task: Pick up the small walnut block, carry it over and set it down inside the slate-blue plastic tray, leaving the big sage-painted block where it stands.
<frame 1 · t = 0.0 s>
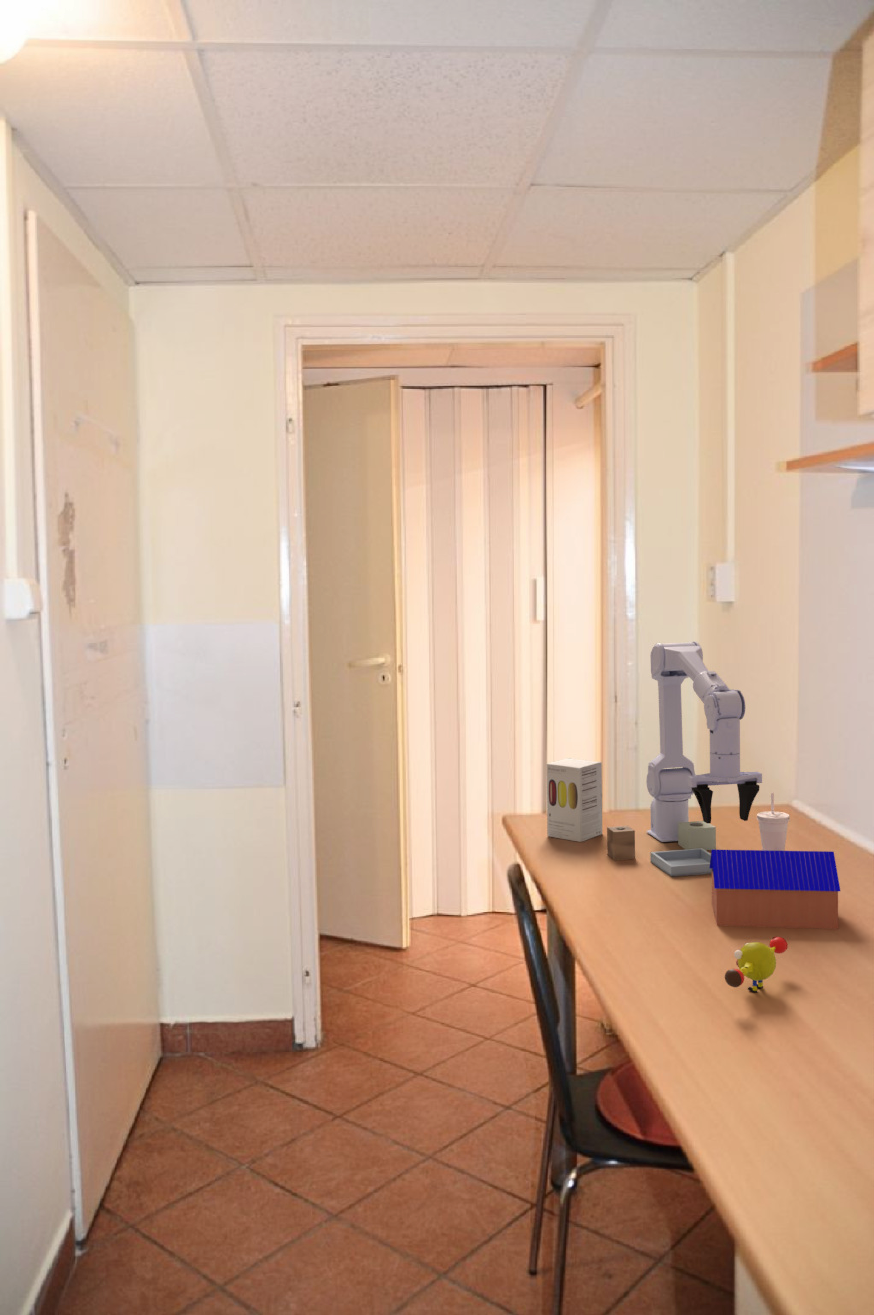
hand: (725, 821, 209), 10 cm above the table, fingers open, 7 cm apart
oversize block: (696, 847, 228), on the table
supplement box: (575, 836, 242), on the table
smoothie: (773, 862, 215), on the table
house: (772, 918, 182), on the table
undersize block: (621, 857, 223), on the table
tray: (687, 867, 213), on the table
toy figure: (755, 990, 151), on the table
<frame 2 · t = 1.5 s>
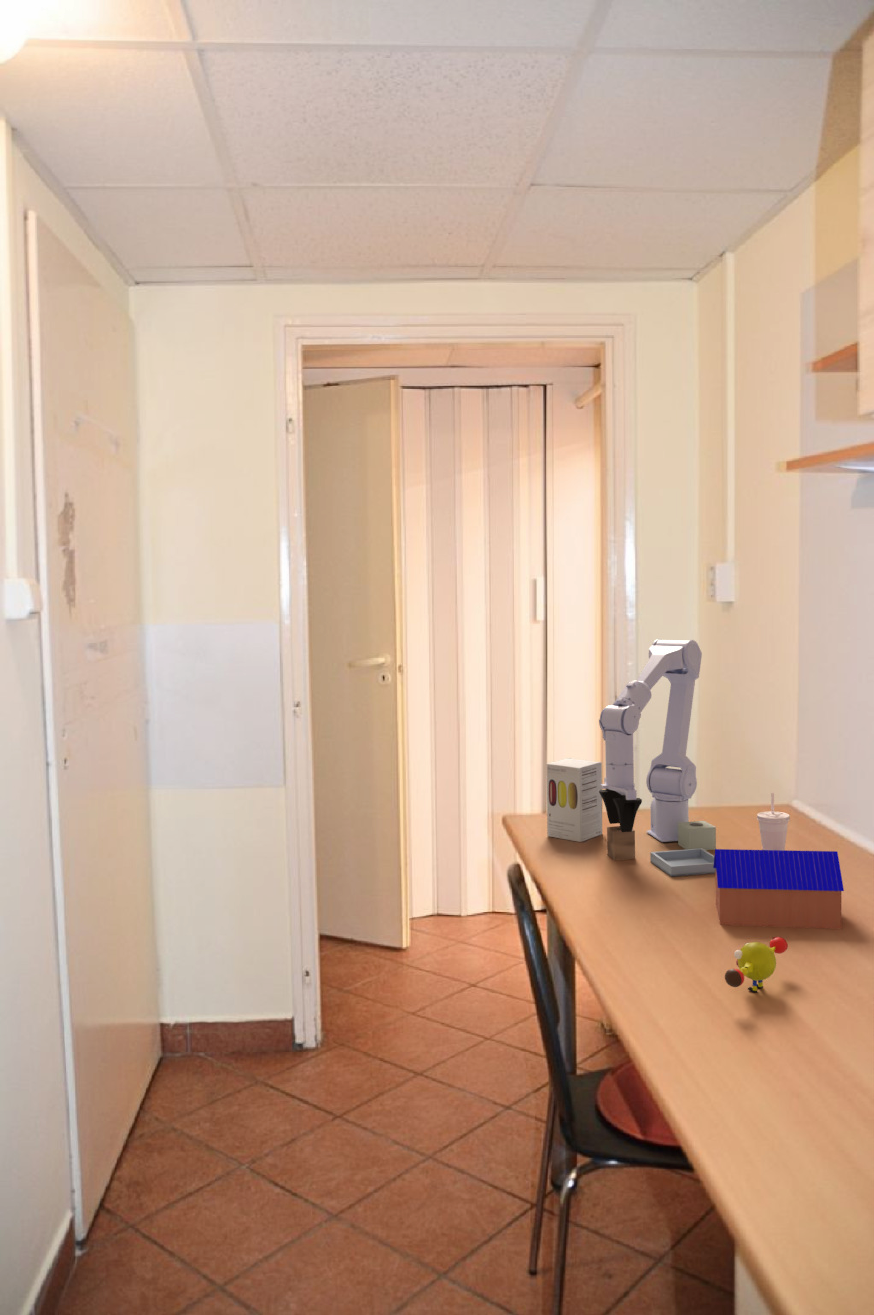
hand: (620, 827, 222), 6 cm above the table, fingers open, 7 cm apart
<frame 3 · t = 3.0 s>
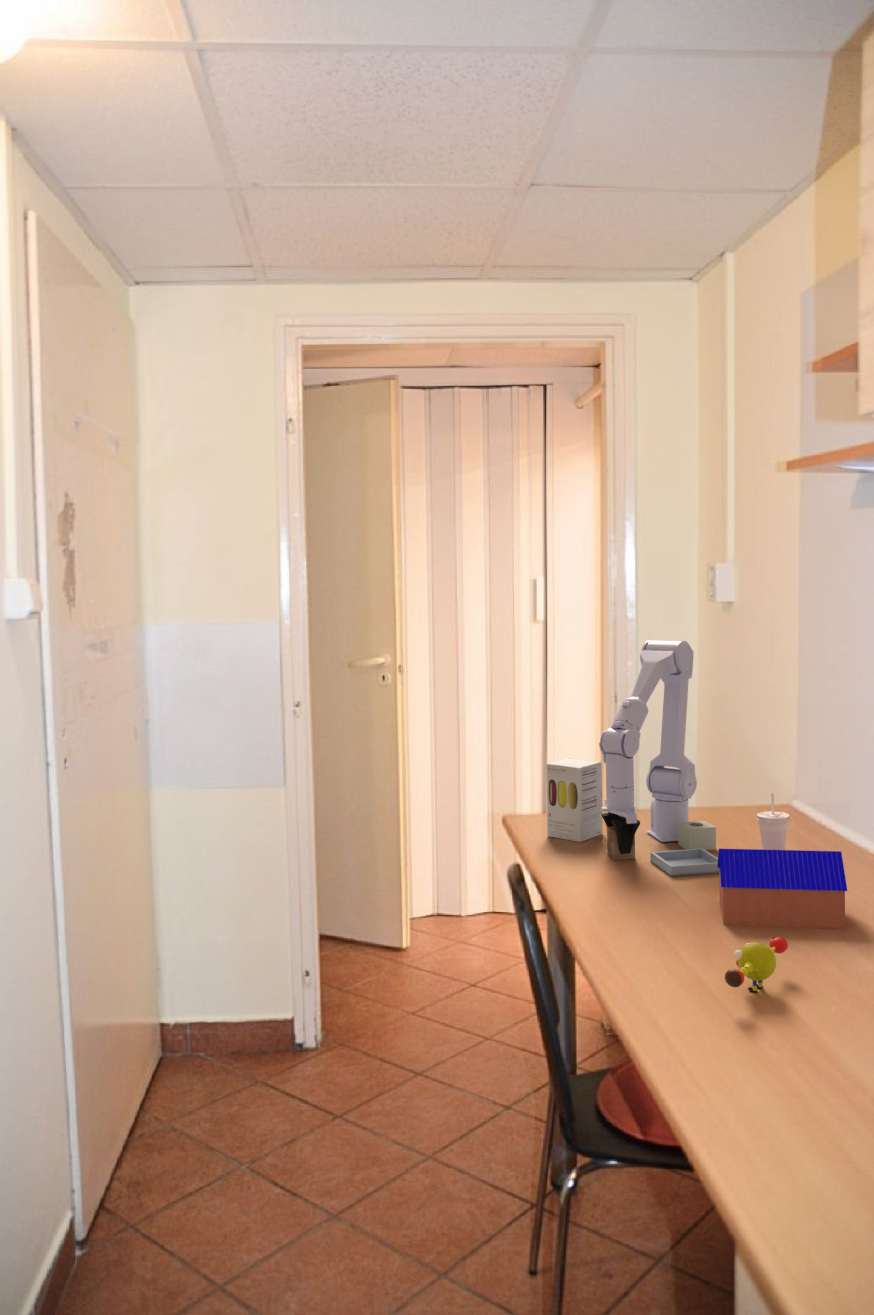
hand: (621, 850, 223), 1 cm above the table, fingers closed on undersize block, 4 cm apart
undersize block: (621, 856, 223), on the table, touching gripper
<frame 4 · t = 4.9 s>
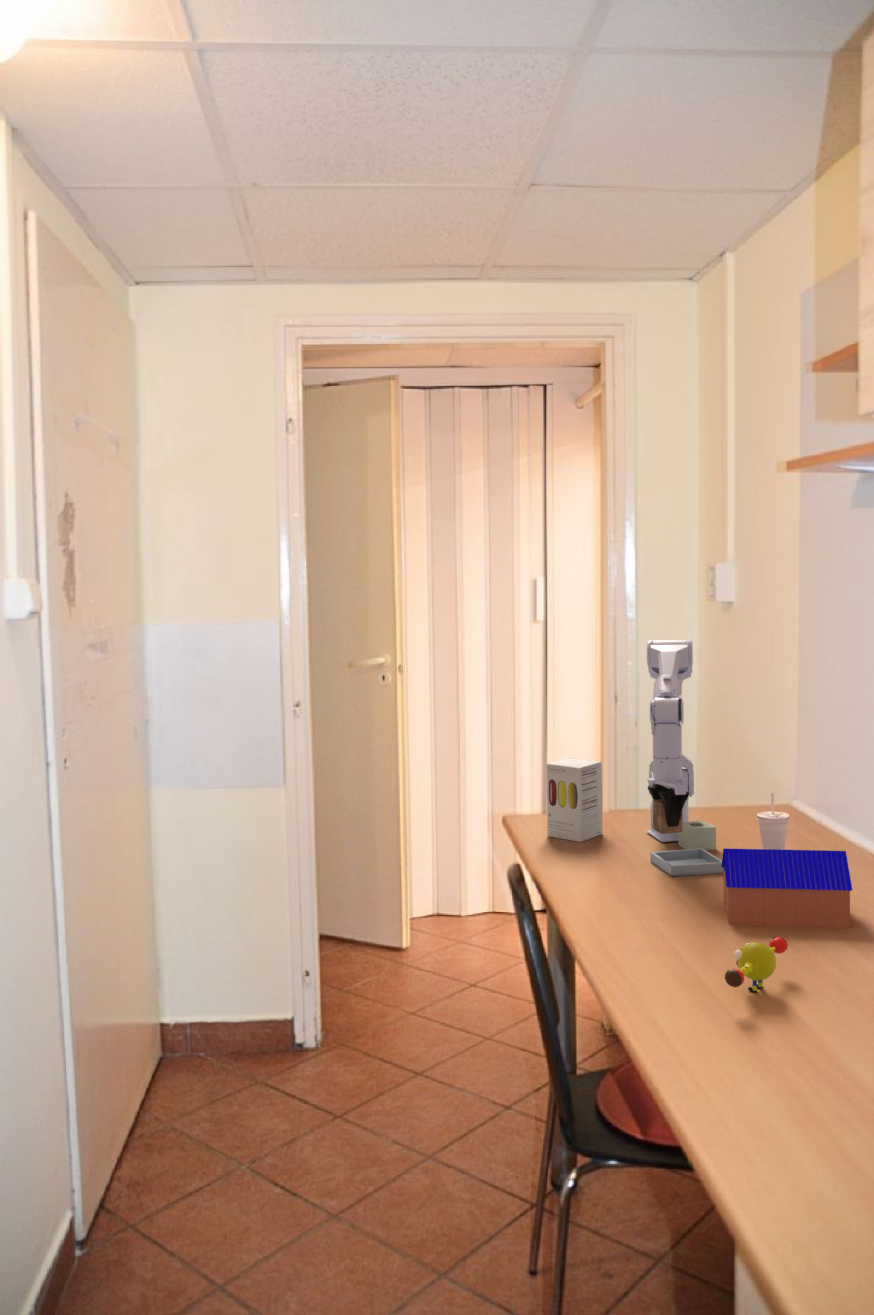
hand: (668, 823, 215), 8 cm above the table, fingers closed on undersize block, 4 cm apart
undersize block: (667, 830, 215), point 7 cm above the table, touching gripper
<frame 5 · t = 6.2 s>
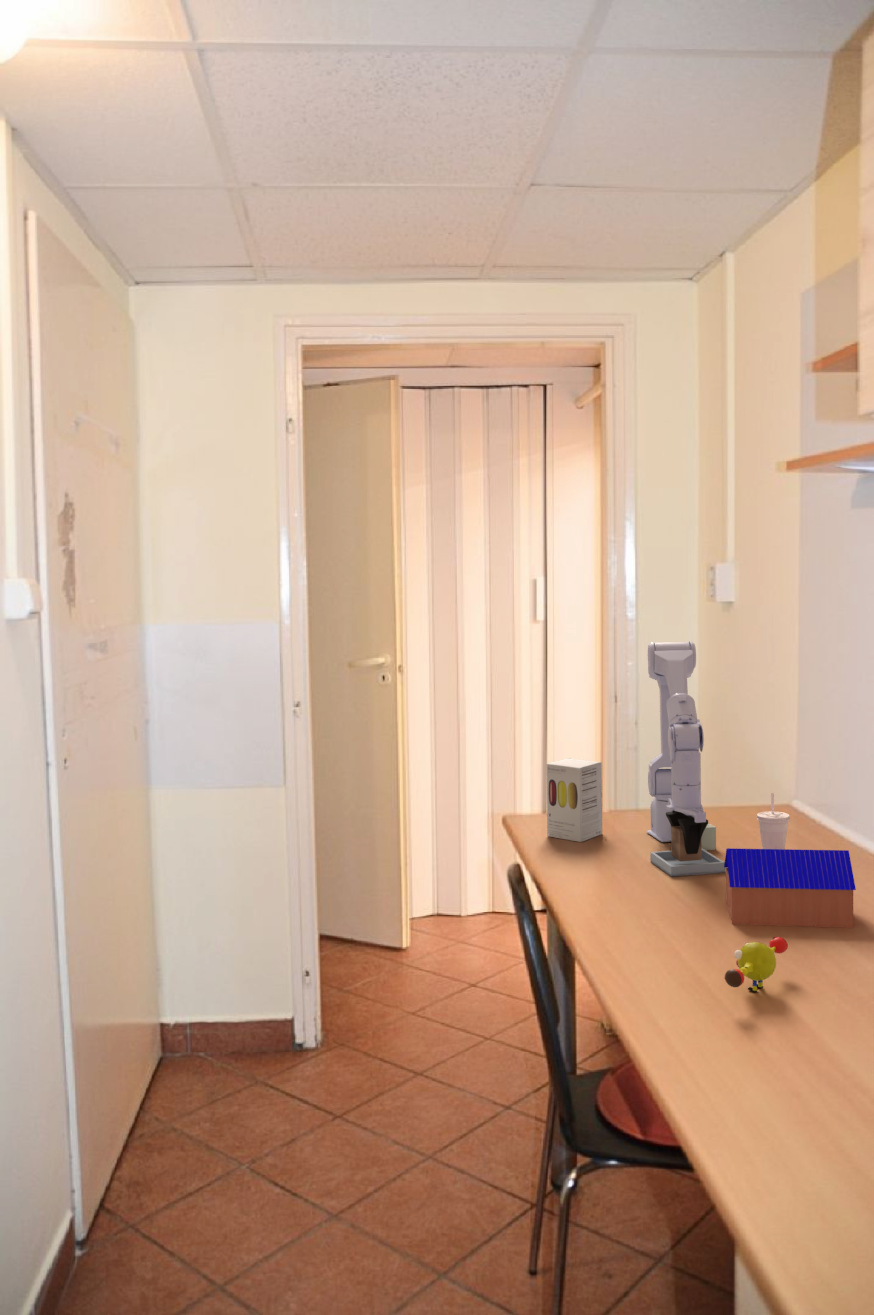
hand: (686, 850, 213), 3 cm above the table, fingers closed on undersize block, 4 cm apart
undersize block: (686, 857, 213), point 2 cm above the table, touching gripper
when the fingers open (3 cm above the table, at t = 7.0 s): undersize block drops 1 cm, resting on tray.
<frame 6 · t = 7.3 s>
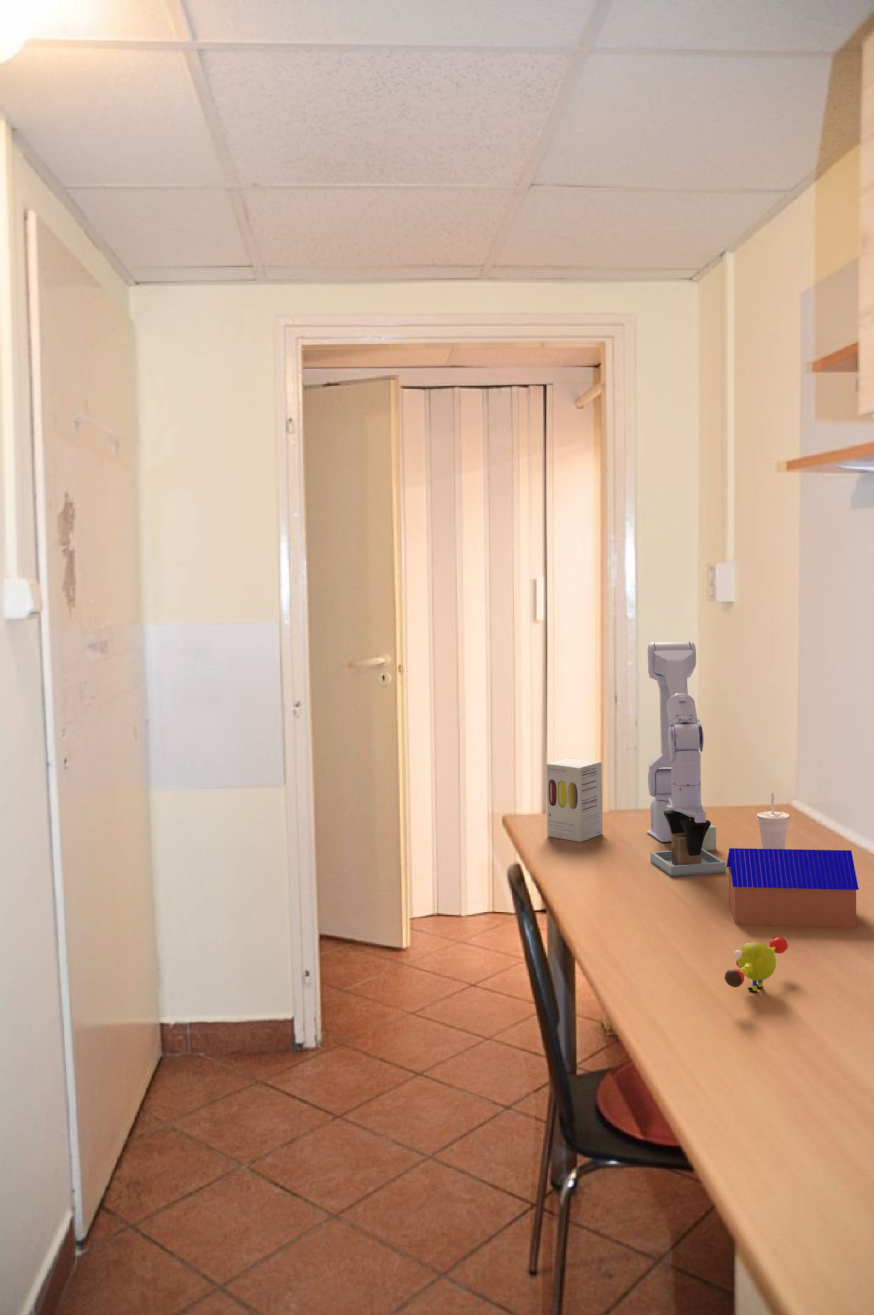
hand: (686, 850, 213), 3 cm above the table, fingers open, 7 cm apart
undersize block: (686, 865, 213), resting on tray
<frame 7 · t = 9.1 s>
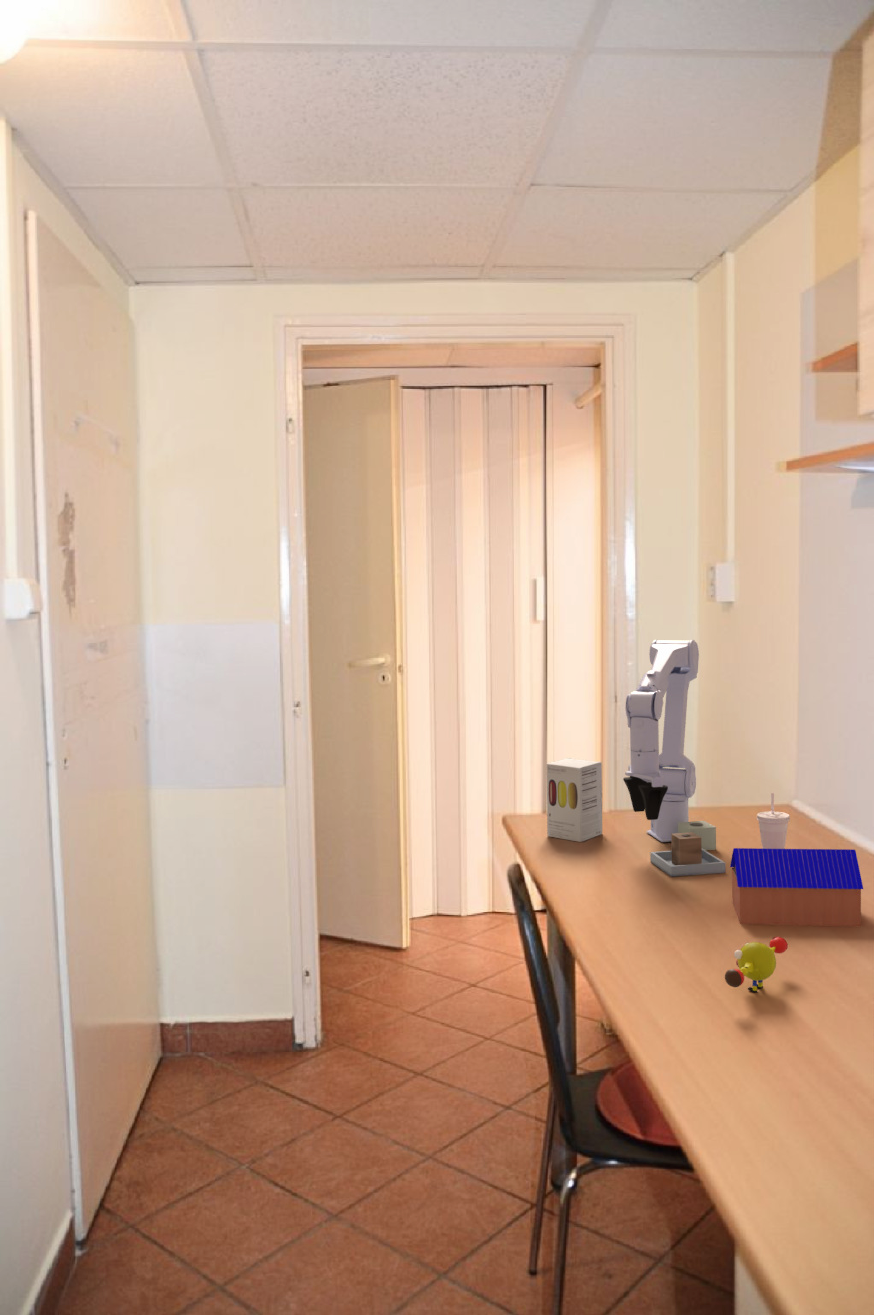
hand: (645, 815, 219), 9 cm above the table, fingers open, 7 cm apart
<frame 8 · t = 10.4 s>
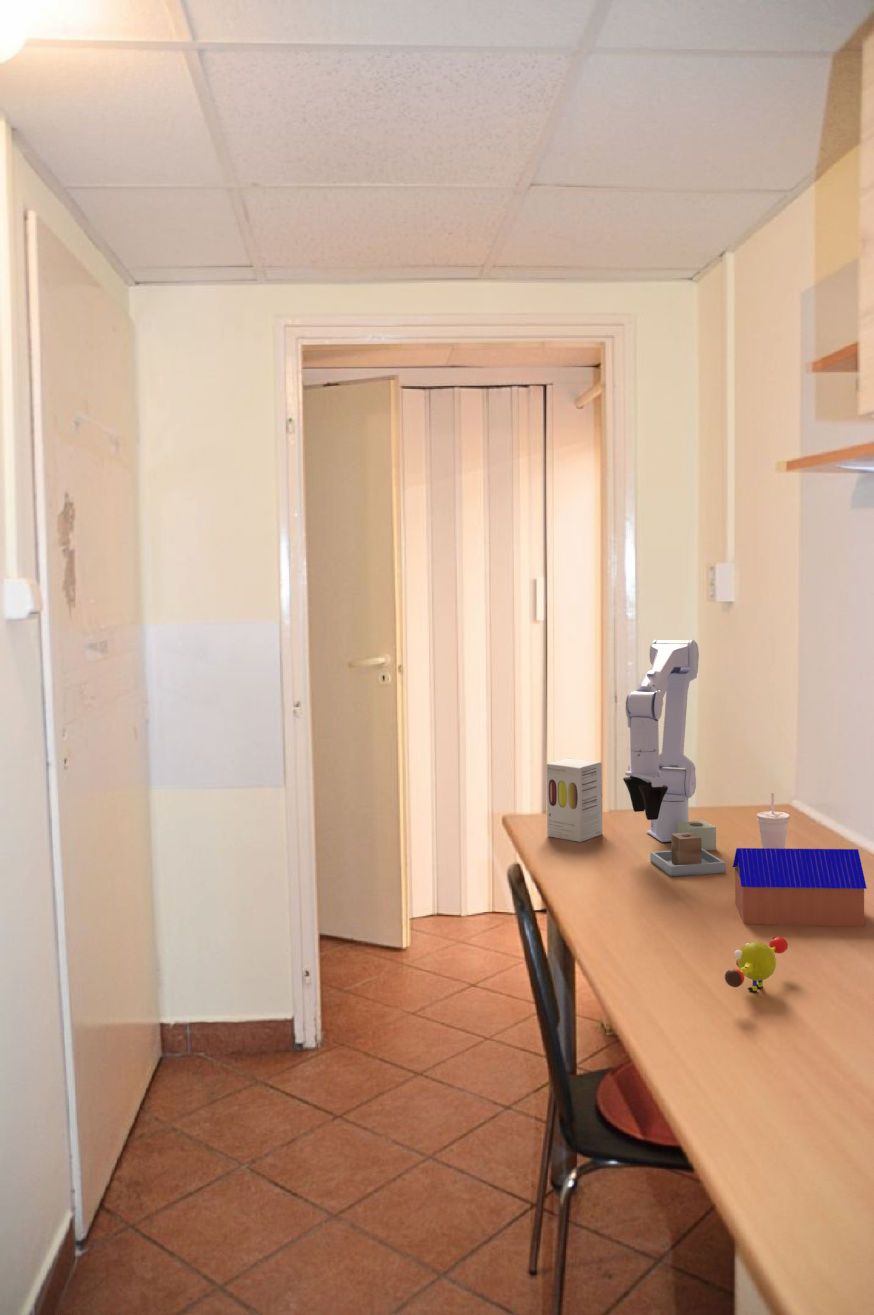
hand: (645, 815, 219), 9 cm above the table, fingers open, 7 cm apart
at the end: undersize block 0.1 cm off-centre on the tray, point 0.4 cm above the tray's base; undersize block tilted 0°; the gripper is holding nothing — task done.
